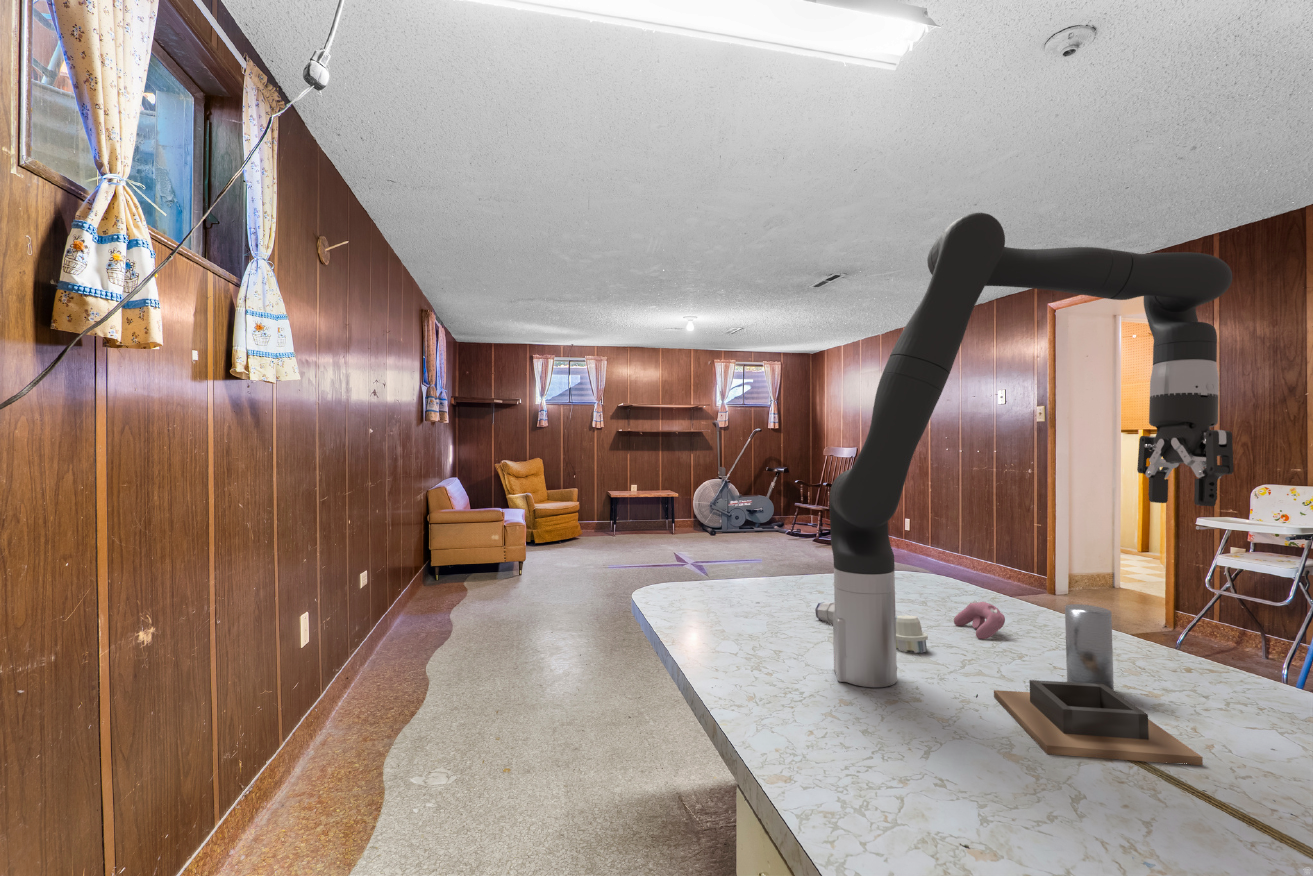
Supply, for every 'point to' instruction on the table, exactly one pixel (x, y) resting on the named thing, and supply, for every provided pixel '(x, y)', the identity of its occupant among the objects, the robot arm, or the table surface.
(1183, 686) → the table surface
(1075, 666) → the grey metal cylinder
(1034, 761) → the table surface
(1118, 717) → the wooden board with frame
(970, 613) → the video game controller
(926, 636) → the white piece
